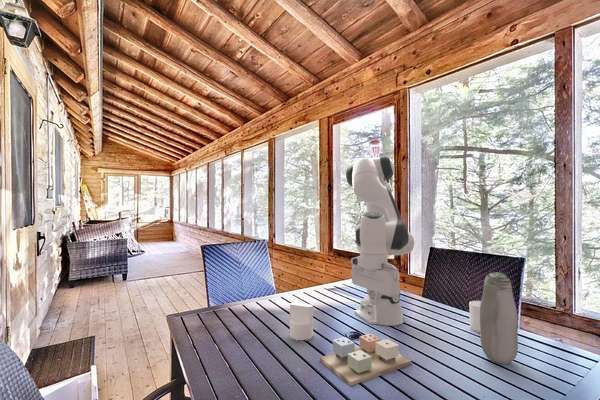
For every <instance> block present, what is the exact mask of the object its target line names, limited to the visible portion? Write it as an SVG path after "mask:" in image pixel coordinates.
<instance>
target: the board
mask: <svg viewBox="0 0 600 400" xmlns="http://www.w3.org/2000/svg"><path fill="white" fill-rule="evenodd" d="M359 350H362V351H363V352H365V353H366V354H368V355H369V356H371V357H372V369H369V370H366V371H363V372H360V373H357V372H356V371H355V370H353V369H352V368H351V367H349V366H348V356H345V357H341V356H339V355H338V354H336V353H335V352H333V353H330V354H326V355H323V356H320V357H319V361H320V362H321V363H322V364H324V366H326V367H327V368H328V369H329V370H331V372H333V373H334V374H335V375H336V376H338V377H339V378H340V379H341V380H343V381H344V382H345V384H348V385H349V386H350V387H352V386H355V385H357V384H361V383H362V382H366V381H368V380H372V379H374V378H377V377H380V376H383V375H386V374H389V373H392V372H395V371H397V370H399V369H404V368H405V367H409V366H411V365H413V362H412V361H413V360H412V359H410V358H408V357H406V356H404V355H402V354H400V353H399V356H398V357H395V358H392V359H389V360H386V359H384V358H383V357H381V356H379V355H378V354H376V351H374V352H370V353H369V352H367V351H366V350H364V349H362V348H361V347H360V345H357V346H355V351H359Z"/></svg>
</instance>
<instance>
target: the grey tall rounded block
mask: <svg viewBox="0 0 600 400" xmlns="http://www.w3.org/2000/svg"><path fill="white" fill-rule="evenodd" d="M480 301H481V304H480V344H481V345H480V346H481V349H482V352H483V353H484V355H485V356H486V357H487V358H488V360H490V361H492V362H494V363H497V364H501V365H506V364H510V363H511V362H513V361H514V360H515V359H516V357H517V354H518V348H519V345H518V344H519V343H518V342H519V340H518V339H519V338H518V335H519V334H518V333H519V331H518V328H519V323H518V321H519V319H518V318H519V316H518V311H517V309H518V308H517V305H516V302H515V298H514V295H513V287H512V280H510V277H508V275H506V274H504V273H503V272H496V271H494V272H490V273H488V274H487V275H486V276H485V278H484V281H483V292H482V296H481V299H480Z"/></svg>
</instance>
